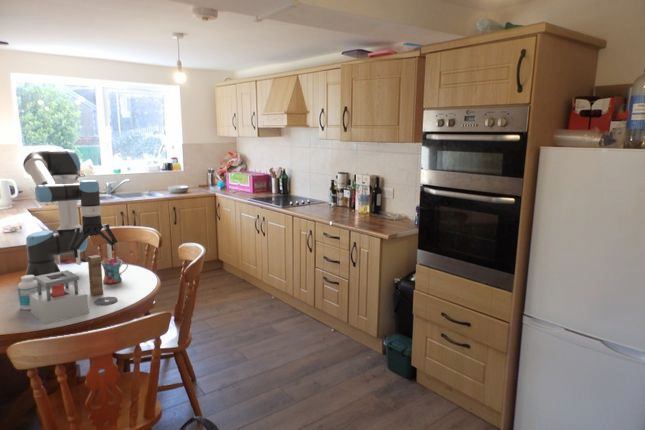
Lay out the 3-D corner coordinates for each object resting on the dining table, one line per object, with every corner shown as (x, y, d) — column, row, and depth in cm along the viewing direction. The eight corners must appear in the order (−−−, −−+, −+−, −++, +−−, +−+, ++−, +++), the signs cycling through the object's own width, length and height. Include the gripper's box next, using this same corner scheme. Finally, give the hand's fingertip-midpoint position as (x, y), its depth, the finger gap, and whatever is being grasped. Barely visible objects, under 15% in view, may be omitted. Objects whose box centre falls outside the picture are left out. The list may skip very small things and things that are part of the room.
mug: (102, 285, 208) (100, 264, 206) (102, 280, 216) (100, 259, 214) (129, 282, 214) (128, 262, 212) (128, 277, 222) (127, 257, 220)
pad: (91, 301, 188) (91, 300, 188) (111, 296, 195) (111, 295, 195) (99, 307, 182) (99, 305, 182) (121, 301, 189) (121, 300, 189)
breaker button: (51, 303, 175) (49, 284, 173) (63, 300, 178) (61, 282, 176) (55, 306, 172) (53, 287, 170) (67, 303, 175) (65, 284, 174)
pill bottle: (26, 303, 184) (23, 273, 181) (45, 303, 184) (42, 273, 182) (16, 310, 176) (12, 279, 174) (35, 310, 177) (32, 279, 175)
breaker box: (30, 312, 174) (27, 276, 172) (73, 302, 187) (70, 268, 184) (44, 324, 164) (41, 285, 162) (88, 312, 176) (86, 276, 174)
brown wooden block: (90, 294, 197) (87, 256, 194) (99, 292, 200) (96, 254, 197) (94, 296, 194) (91, 258, 191) (103, 294, 197) (100, 256, 194)
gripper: (63, 219, 179) (67, 268, 182) (123, 213, 198) (125, 257, 201) (57, 217, 183) (61, 265, 187) (115, 211, 202) (118, 254, 206)
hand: (94, 261), depth 194 cm, fingers open, 13 cm apart
